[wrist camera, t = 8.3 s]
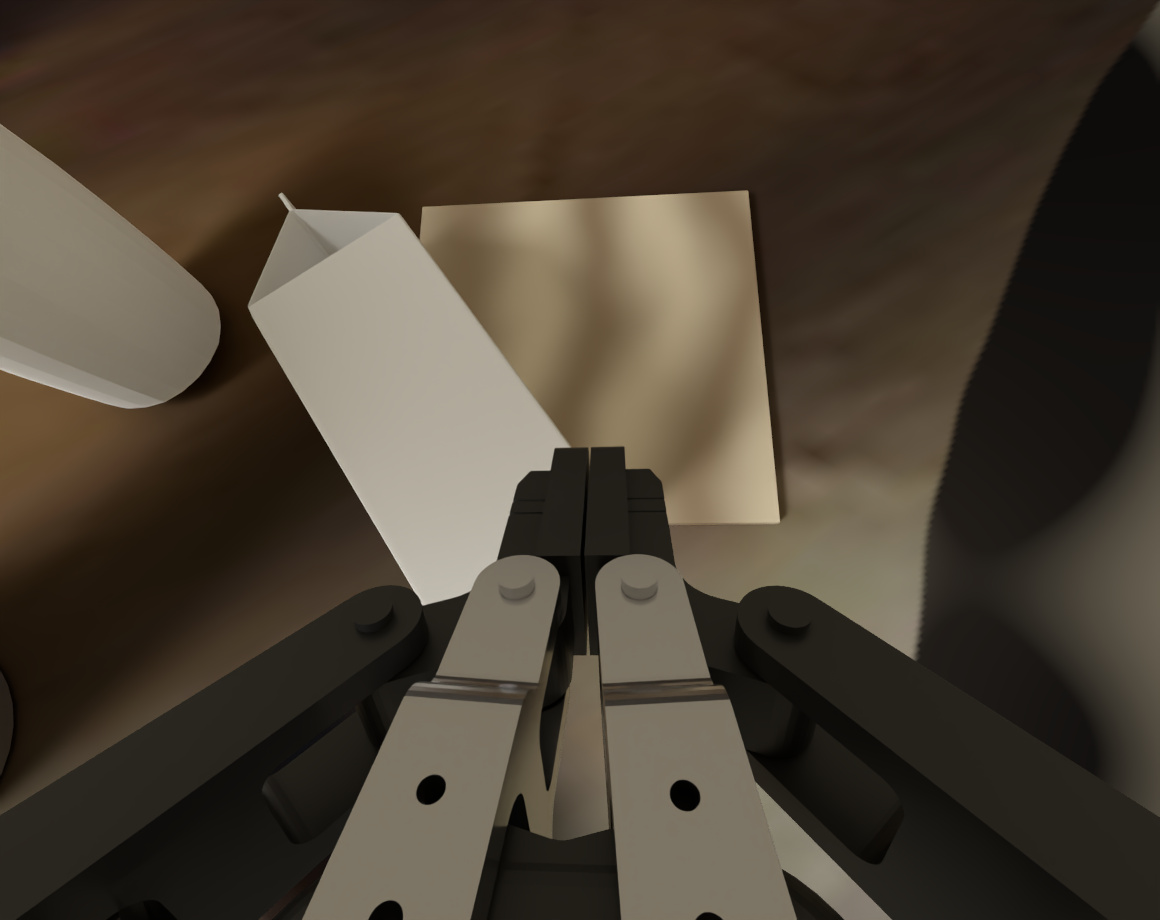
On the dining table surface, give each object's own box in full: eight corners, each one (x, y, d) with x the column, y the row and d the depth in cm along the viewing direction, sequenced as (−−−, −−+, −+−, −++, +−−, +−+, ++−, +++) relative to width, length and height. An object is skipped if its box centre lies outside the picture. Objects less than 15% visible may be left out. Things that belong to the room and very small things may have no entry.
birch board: (399, 527, 26) (394, 526, 25) (426, 214, 30) (422, 206, 30) (776, 524, 25) (779, 522, 24) (745, 198, 29) (748, 190, 29)
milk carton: (620, 537, 24) (415, 254, 29) (621, 513, 18) (352, 148, 22) (492, 629, 24) (303, 325, 28) (442, 642, 17) (203, 238, 22)
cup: (83, 318, 30) (-359, 87, 17) (221, 259, 31) (-98, -14, 17) (110, 448, 28) (-372, 304, 14) (259, 383, 28) (-73, 183, 15)
